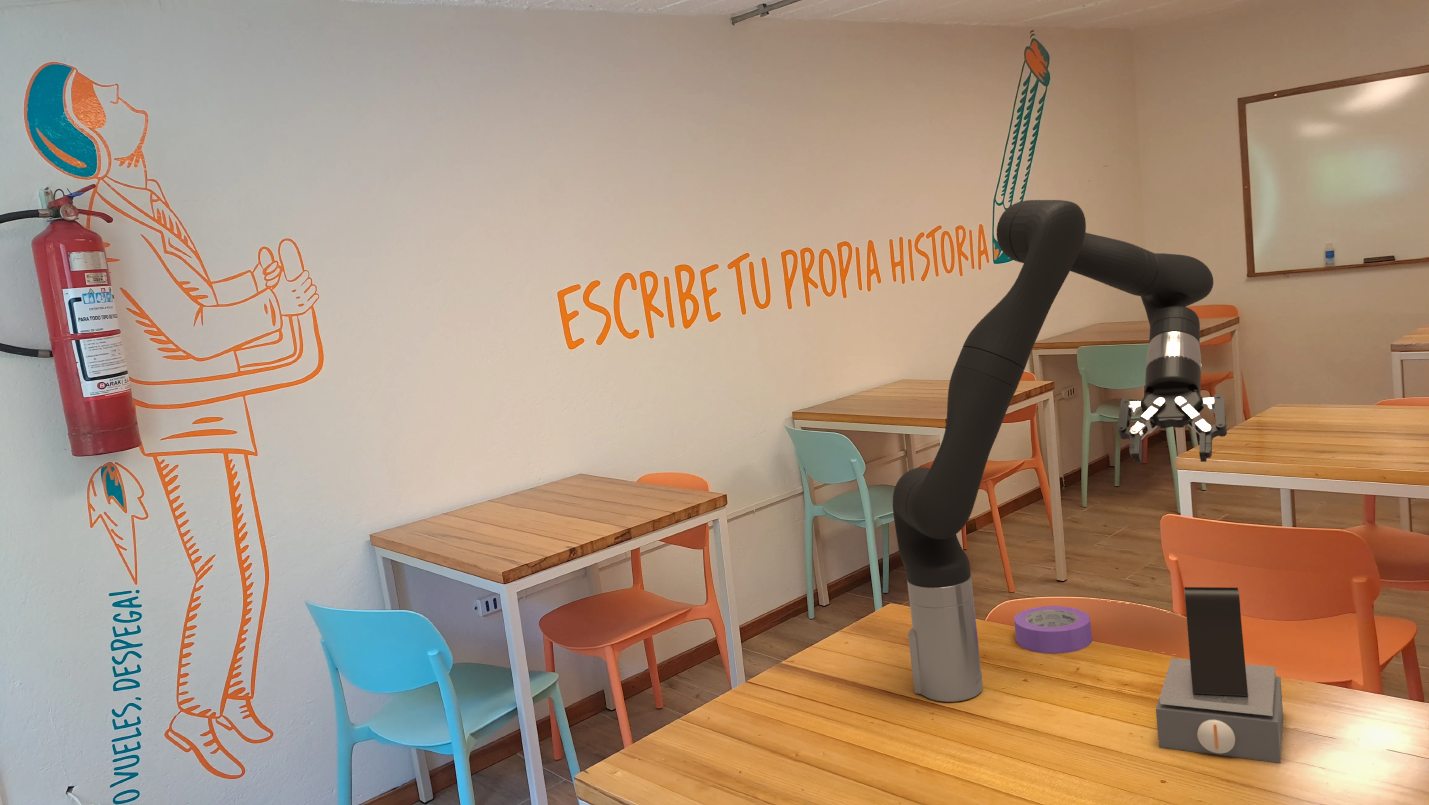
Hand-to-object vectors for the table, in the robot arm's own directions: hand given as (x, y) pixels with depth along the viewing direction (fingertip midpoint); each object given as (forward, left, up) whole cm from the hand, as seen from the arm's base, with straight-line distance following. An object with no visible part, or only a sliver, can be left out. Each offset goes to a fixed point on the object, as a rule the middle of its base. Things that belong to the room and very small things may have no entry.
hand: (1169, 459), depth 137 cm
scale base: (+6, -20, -31) cm, 37 cm away
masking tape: (-20, +5, -31) cm, 37 cm away
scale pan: (+6, -20, -25) cm, 33 cm away
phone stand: (+6, -19, -24) cm, 32 cm away
